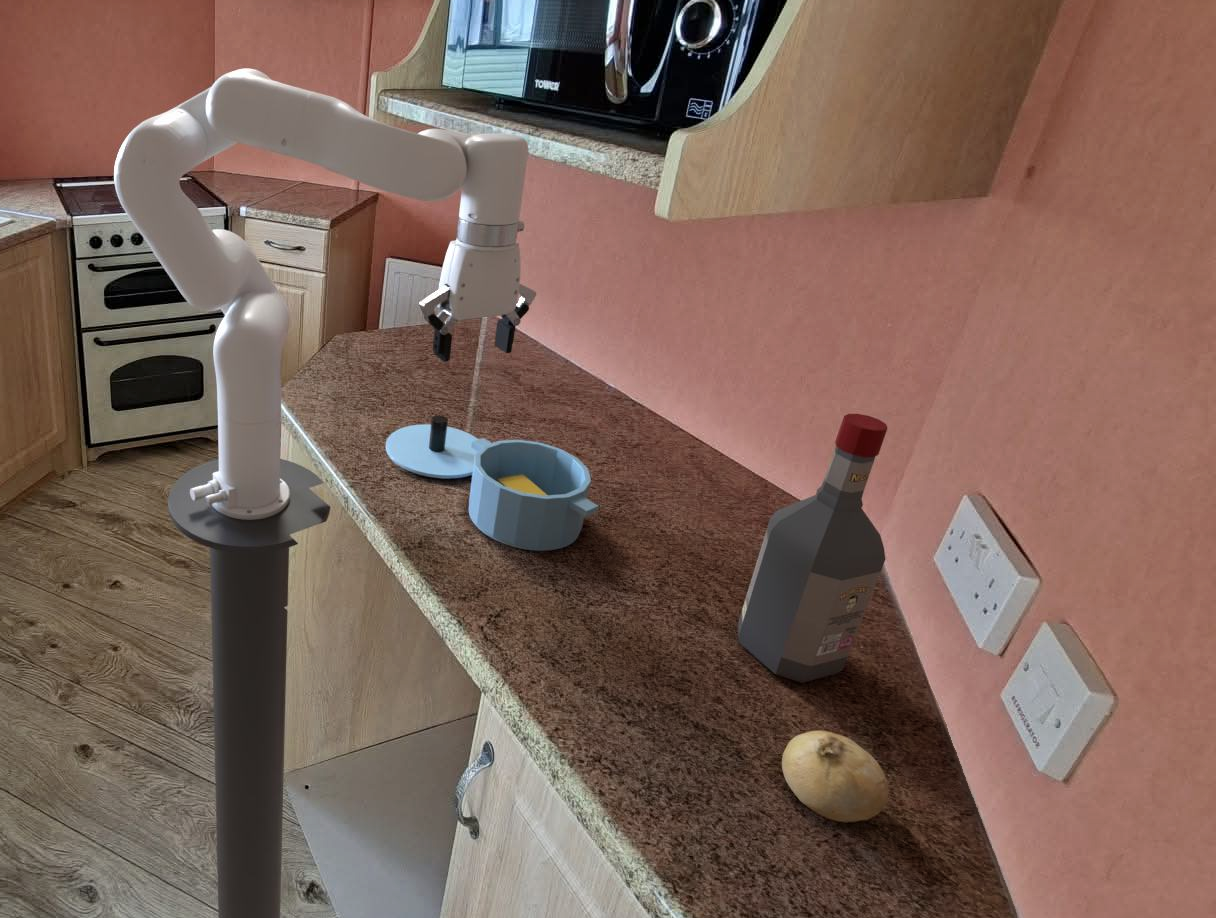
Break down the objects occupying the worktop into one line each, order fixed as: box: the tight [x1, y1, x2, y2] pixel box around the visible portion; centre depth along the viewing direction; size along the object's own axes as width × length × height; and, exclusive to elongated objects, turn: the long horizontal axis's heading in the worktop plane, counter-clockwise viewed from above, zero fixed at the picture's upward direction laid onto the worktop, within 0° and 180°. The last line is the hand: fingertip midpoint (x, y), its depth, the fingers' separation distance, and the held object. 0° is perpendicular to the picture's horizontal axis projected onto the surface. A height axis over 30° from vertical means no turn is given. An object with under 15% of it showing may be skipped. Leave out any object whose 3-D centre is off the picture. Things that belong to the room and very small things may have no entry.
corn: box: [497, 474, 548, 496], centre depth 114 cm, size 10×4×4 cm, turn 18°
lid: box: [385, 414, 480, 479], centre depth 130 cm, size 17×17×7 cm
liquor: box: [737, 413, 888, 684], centre depth 85 cm, size 9×9×30 cm
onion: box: [781, 730, 890, 824], centre depth 73 cm, size 8×8×7 cm
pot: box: [468, 437, 600, 552], centre depth 114 cm, size 16×21×8 cm
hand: (472, 353), depth 109 cm, fingers open, 9 cm apart
